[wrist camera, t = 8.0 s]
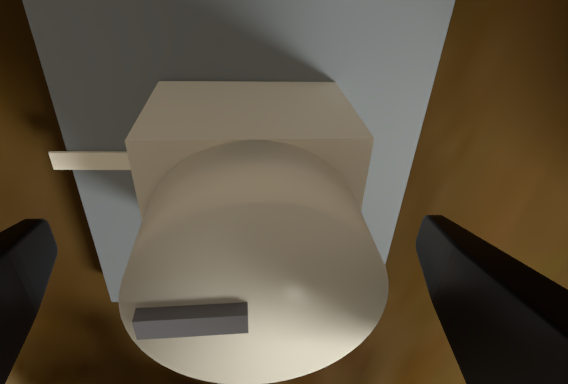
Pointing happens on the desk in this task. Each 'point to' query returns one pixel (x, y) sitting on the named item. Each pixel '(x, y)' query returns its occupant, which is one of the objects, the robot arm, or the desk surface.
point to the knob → (250, 230)
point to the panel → (230, 67)
